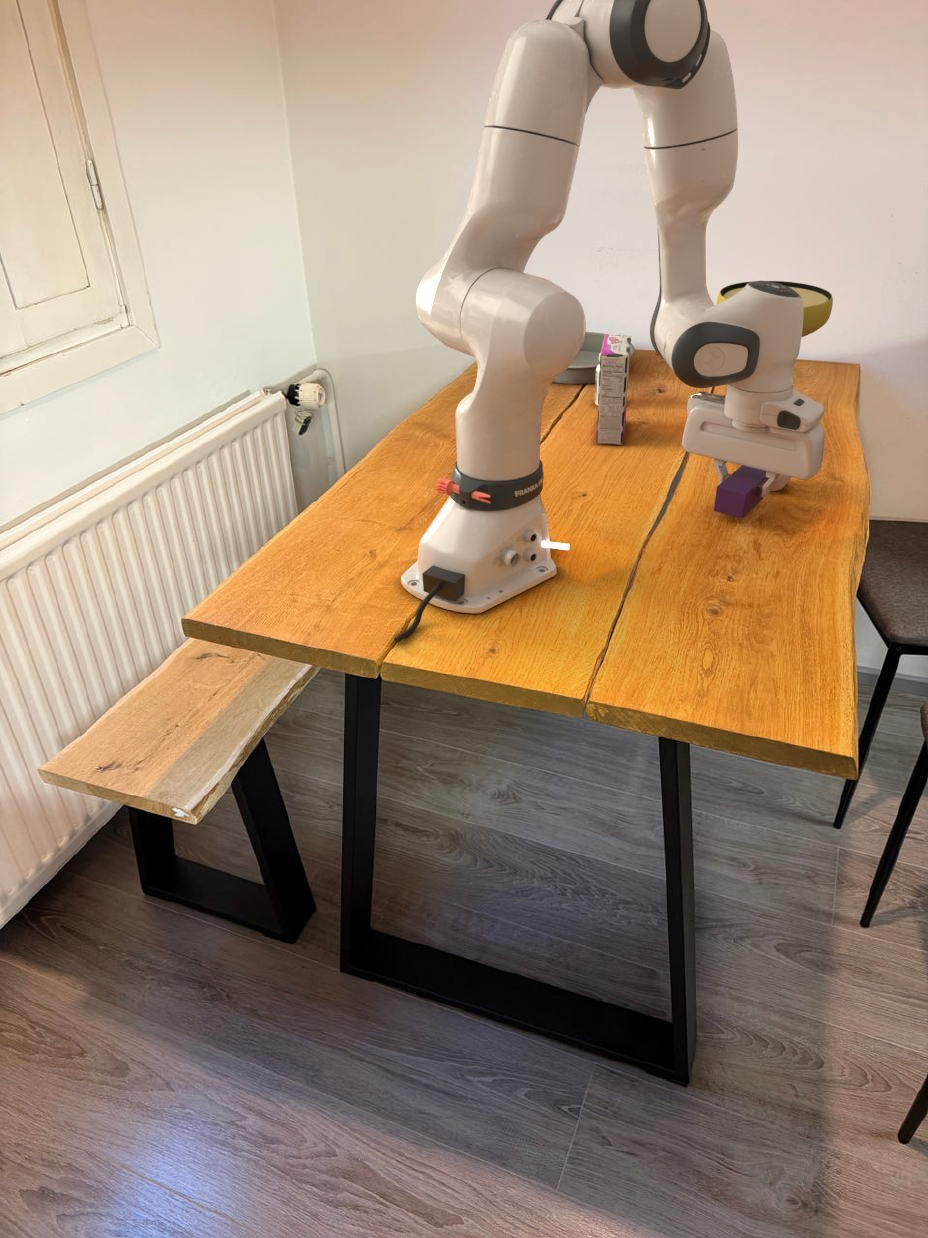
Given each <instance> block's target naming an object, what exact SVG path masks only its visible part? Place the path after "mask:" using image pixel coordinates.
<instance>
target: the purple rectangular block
mask: <svg viewBox="0 0 928 1238" xmlns="http://www.w3.org/2000/svg"><path fill="white" fill-rule="evenodd" d="M766 472H767V471H764V470H760V469H756V468H751V467H747V466H743V465H740V466H739V467H738V468H737V469H736V470H734V471H733V472H732V473H730V474H731V475H730V476H729V477H728V478H727V479H725V480H724V481H723V482H722V483H721V484H720V485H718V484H717V486H716V490H715V498H714V504H713V512H716V513H720V514H723V515H727V516H731V517H734V518H739V519H744V518H745V517H746V516H747V515H748V514H749V513H750V512H751V511H752V510H753V509H754V508H755V507H757V506H758V504H759V503H760V502H762V501H763V500H764V498H762V497H759V496H756V492H757V491H756V489H757V485H759V484H760V483H761V482H765V483H766V482H767V481H768V480H769V478H770V477H769V478H767V477H766Z"/></svg>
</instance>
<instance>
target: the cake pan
mask: <svg viewBox="0 0 928 1238" xmlns="http://www.w3.org/2000/svg"><path fill="white" fill-rule="evenodd" d="M605 335H610V334H608V333H602V332H594V331H586V333H585V339H584V342H583V345H582V348H581V350H580V352H579V354H578V356H577V357H576V359H575V360H574V362H573V363H572V364H571V365H570V366H569V367H568V368H567V369H566V370H564V371H563V372H562V373H560V374H559V375H557V376H556V378H555V379H554V380H553V382H552V383H557V384H565V385H588V384H595V382H596V368H597V366H598V365H599V364H600V361H599V354H600V353H601V350H602V346H603V341H604V336H605ZM635 349H636V348H635V346H634V345H633V344H632V343H631V346H630V358H631V357H632V356H633V355H634V354H635V351H636V350H635Z"/></svg>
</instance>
